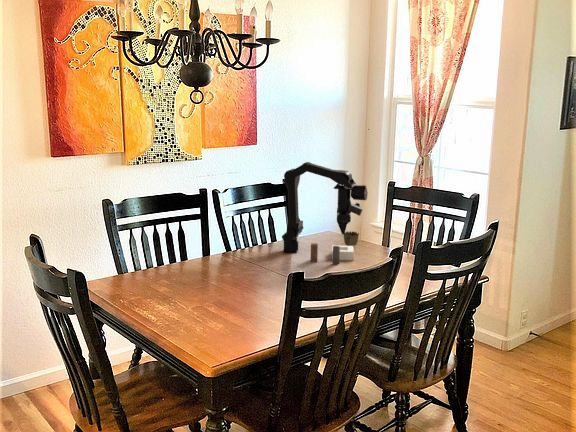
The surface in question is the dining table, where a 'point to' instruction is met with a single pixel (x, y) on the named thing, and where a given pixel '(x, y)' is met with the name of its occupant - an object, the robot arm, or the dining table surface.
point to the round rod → (336, 254)
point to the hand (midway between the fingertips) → (343, 231)
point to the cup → (351, 238)
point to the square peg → (314, 252)
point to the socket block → (345, 252)
